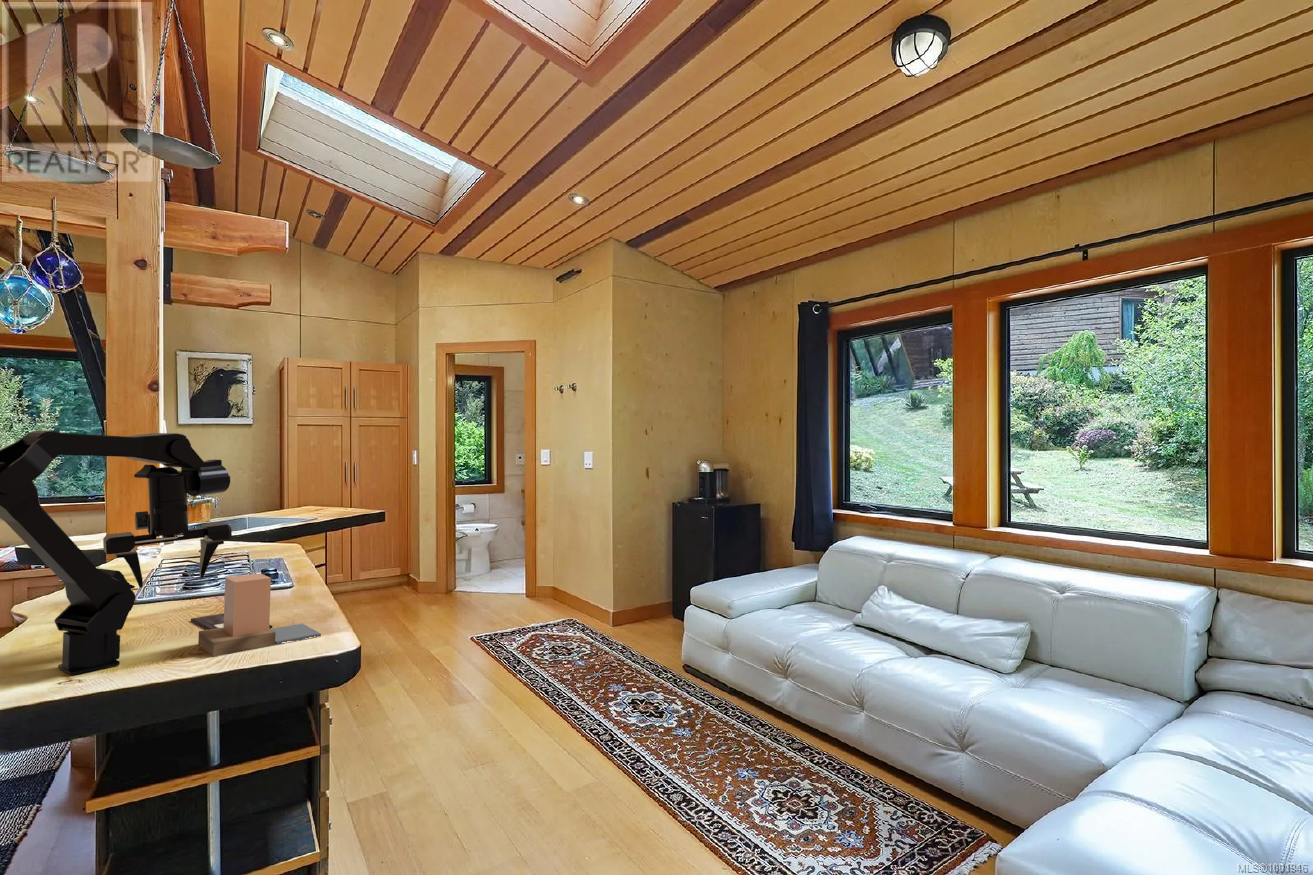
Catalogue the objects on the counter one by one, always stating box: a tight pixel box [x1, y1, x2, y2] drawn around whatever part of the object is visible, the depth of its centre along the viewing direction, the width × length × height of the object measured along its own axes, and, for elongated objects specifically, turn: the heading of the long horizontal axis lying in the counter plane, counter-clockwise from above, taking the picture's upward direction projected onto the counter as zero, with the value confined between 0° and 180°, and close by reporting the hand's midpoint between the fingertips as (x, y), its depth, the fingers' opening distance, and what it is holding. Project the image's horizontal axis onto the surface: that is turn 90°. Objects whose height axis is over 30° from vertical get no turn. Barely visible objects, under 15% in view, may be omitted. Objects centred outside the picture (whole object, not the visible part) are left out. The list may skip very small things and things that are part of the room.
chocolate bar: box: [190, 612, 273, 630], centre depth 135 cm, size 9×1×18 cm
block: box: [223, 573, 272, 636], centre depth 123 cm, size 6×6×10 cm
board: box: [197, 627, 276, 657], centre depth 122 cm, size 10×10×2 cm
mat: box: [272, 623, 322, 645], centre depth 129 cm, size 8×10×1 cm
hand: (172, 582), depth 121 cm, fingers open, 9 cm apart
